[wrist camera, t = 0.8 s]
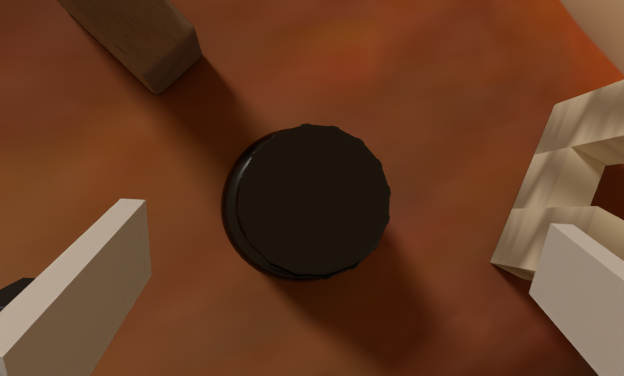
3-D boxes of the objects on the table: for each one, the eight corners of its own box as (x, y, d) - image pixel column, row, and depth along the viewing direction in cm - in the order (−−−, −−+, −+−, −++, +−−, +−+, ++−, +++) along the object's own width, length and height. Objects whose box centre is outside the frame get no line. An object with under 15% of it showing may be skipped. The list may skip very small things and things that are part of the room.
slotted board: (522, 278, 32) (612, 298, 24) (490, 262, 32) (569, 277, 24) (584, 121, 34) (686, 93, 26) (554, 104, 34) (648, 70, 26)
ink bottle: (272, 118, 30) (288, 53, 18) (373, 182, 31) (451, 160, 19) (198, 233, 29) (163, 245, 17) (305, 297, 29) (344, 351, 18)
